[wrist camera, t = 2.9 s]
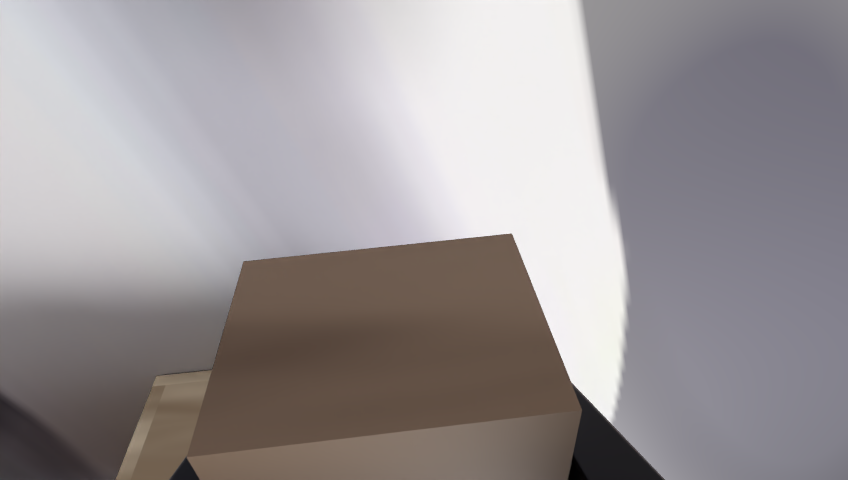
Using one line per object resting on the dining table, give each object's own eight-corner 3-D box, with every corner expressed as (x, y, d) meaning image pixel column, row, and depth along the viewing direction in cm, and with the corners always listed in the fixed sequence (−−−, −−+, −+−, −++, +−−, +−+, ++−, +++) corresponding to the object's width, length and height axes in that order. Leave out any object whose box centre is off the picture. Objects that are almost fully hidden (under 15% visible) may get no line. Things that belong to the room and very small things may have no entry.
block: (502, 397, 11) (548, 573, 9) (298, 421, 11) (277, 609, 8) (512, 234, 9) (582, 411, 6) (243, 261, 9) (186, 457, 6)
